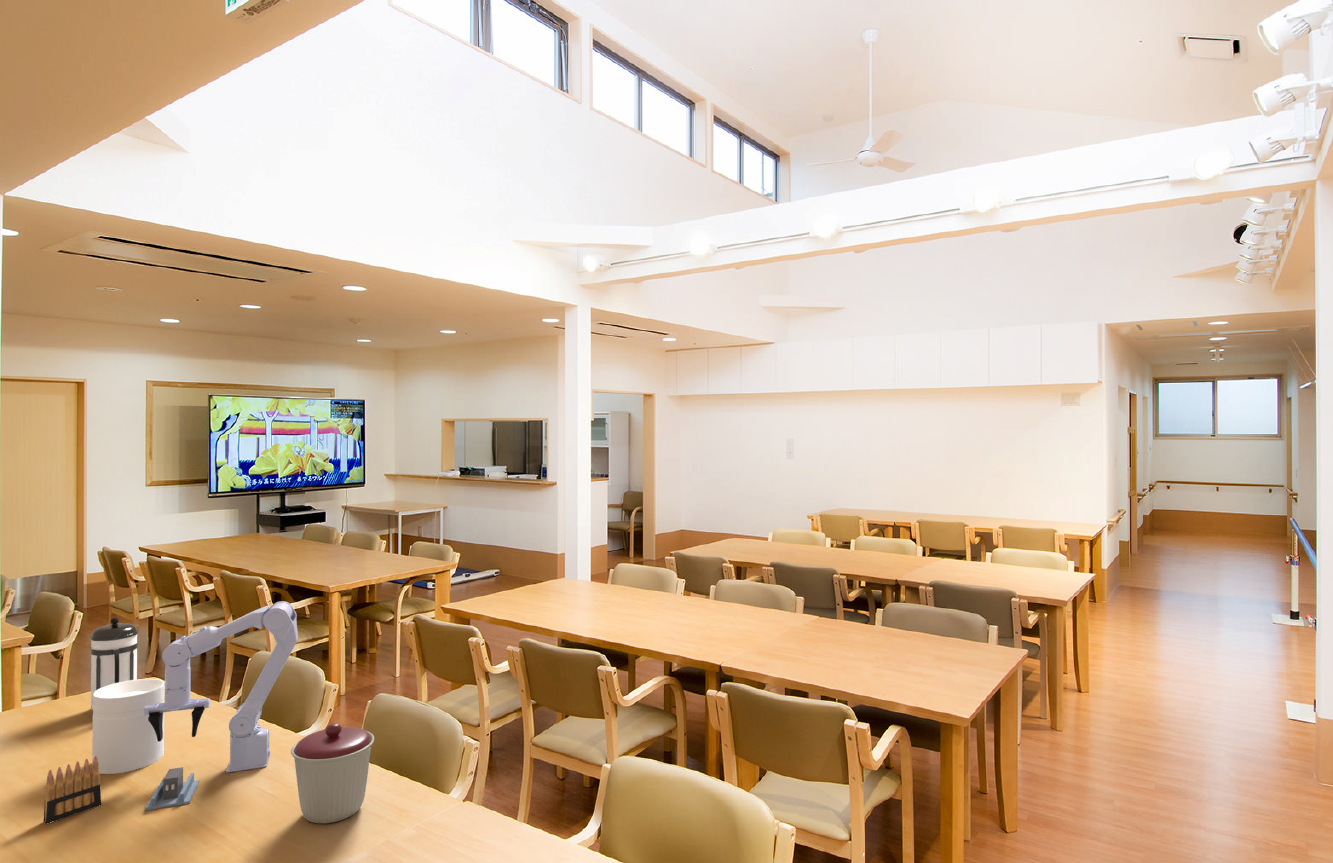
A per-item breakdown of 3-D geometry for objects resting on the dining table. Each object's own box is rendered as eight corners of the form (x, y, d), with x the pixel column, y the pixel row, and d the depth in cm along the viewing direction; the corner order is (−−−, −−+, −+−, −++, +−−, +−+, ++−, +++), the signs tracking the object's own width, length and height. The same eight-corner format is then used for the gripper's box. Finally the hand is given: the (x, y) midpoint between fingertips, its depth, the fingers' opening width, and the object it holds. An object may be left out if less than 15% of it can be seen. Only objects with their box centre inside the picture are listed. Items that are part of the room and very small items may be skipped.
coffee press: (69, 717, 234) (70, 622, 234) (114, 699, 250) (115, 611, 250) (116, 721, 231) (117, 625, 231) (159, 703, 247) (160, 613, 247)
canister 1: (94, 780, 192) (95, 703, 192) (90, 759, 204) (90, 687, 204) (168, 762, 202) (168, 689, 202) (159, 743, 214) (160, 675, 214)
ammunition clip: (46, 824, 170) (46, 772, 170) (43, 822, 171) (43, 770, 171) (101, 805, 179) (101, 755, 179) (98, 803, 180) (98, 753, 180)
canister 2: (323, 841, 163) (324, 745, 163) (273, 820, 172) (274, 729, 172) (390, 805, 179) (390, 718, 179) (341, 788, 187) (341, 705, 188)
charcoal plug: (183, 787, 187) (183, 767, 187) (176, 799, 180) (177, 778, 180) (169, 789, 185) (169, 769, 185) (162, 801, 179) (162, 780, 179)
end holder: (199, 782, 190) (199, 772, 190) (189, 803, 179) (189, 792, 179) (158, 788, 187) (158, 778, 187) (145, 810, 176) (145, 799, 176)
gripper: (140, 695, 189) (140, 748, 189) (206, 687, 195) (206, 739, 194) (148, 686, 196) (147, 737, 195) (211, 679, 201) (211, 729, 201)
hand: (177, 738), depth 195 cm, fingers open, 7 cm apart
